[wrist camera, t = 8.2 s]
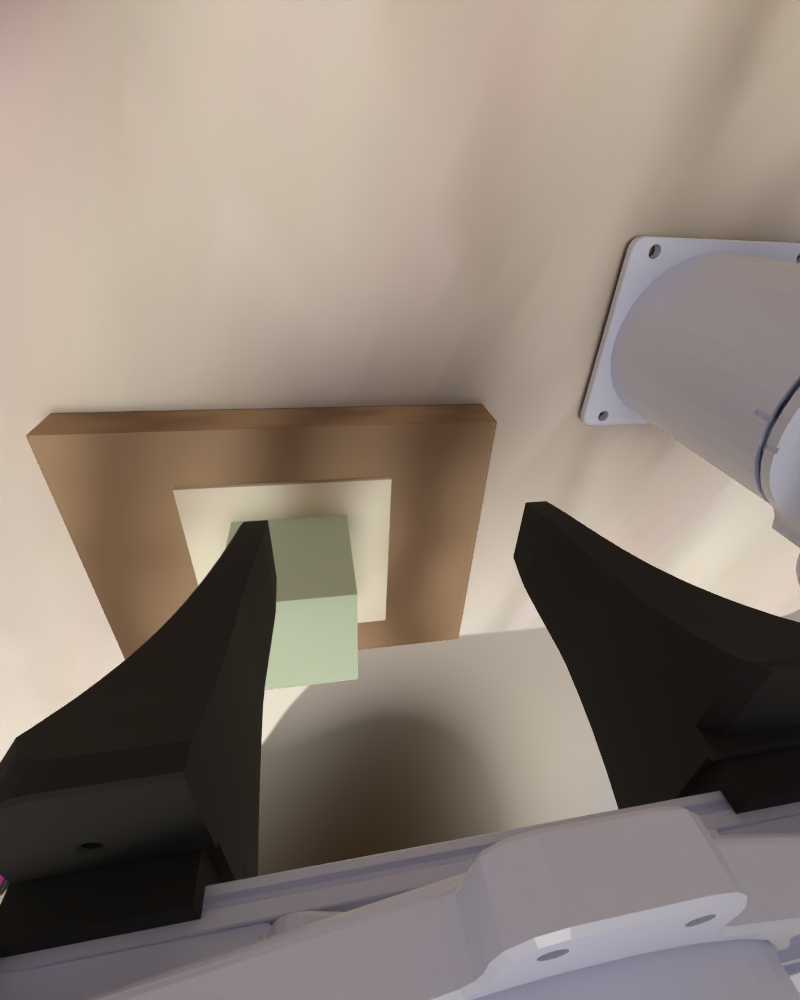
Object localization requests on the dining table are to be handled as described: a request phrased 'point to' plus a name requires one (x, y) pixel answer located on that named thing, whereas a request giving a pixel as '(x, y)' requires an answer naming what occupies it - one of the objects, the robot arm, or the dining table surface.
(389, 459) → the base board
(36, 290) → the dining table surface
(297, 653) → the sage cube
